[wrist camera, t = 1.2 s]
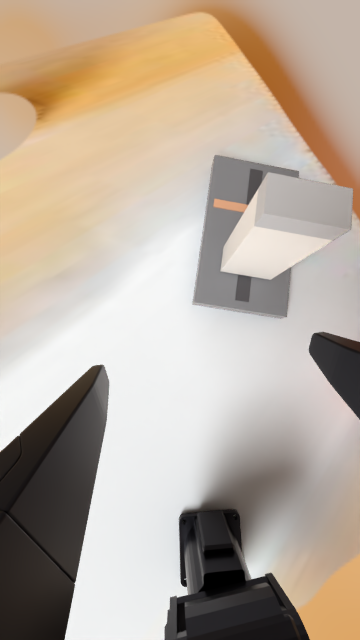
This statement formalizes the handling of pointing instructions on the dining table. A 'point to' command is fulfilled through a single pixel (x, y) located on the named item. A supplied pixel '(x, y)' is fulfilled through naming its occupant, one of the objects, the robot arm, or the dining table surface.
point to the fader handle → (286, 225)
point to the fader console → (220, 220)
